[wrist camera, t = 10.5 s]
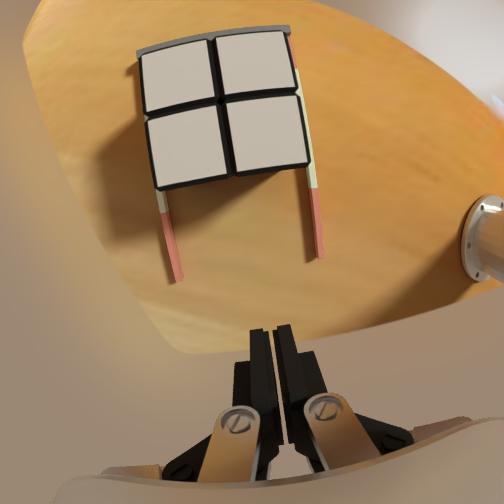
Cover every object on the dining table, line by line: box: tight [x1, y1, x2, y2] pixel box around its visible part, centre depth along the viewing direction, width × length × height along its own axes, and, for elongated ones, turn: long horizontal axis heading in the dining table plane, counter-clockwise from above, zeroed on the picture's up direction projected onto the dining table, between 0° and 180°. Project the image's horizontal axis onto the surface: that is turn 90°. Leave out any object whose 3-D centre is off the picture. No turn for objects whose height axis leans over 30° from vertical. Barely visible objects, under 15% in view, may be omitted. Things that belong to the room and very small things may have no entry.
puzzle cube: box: [139, 30, 311, 192], centre depth 20 cm, size 10×10×10 cm
